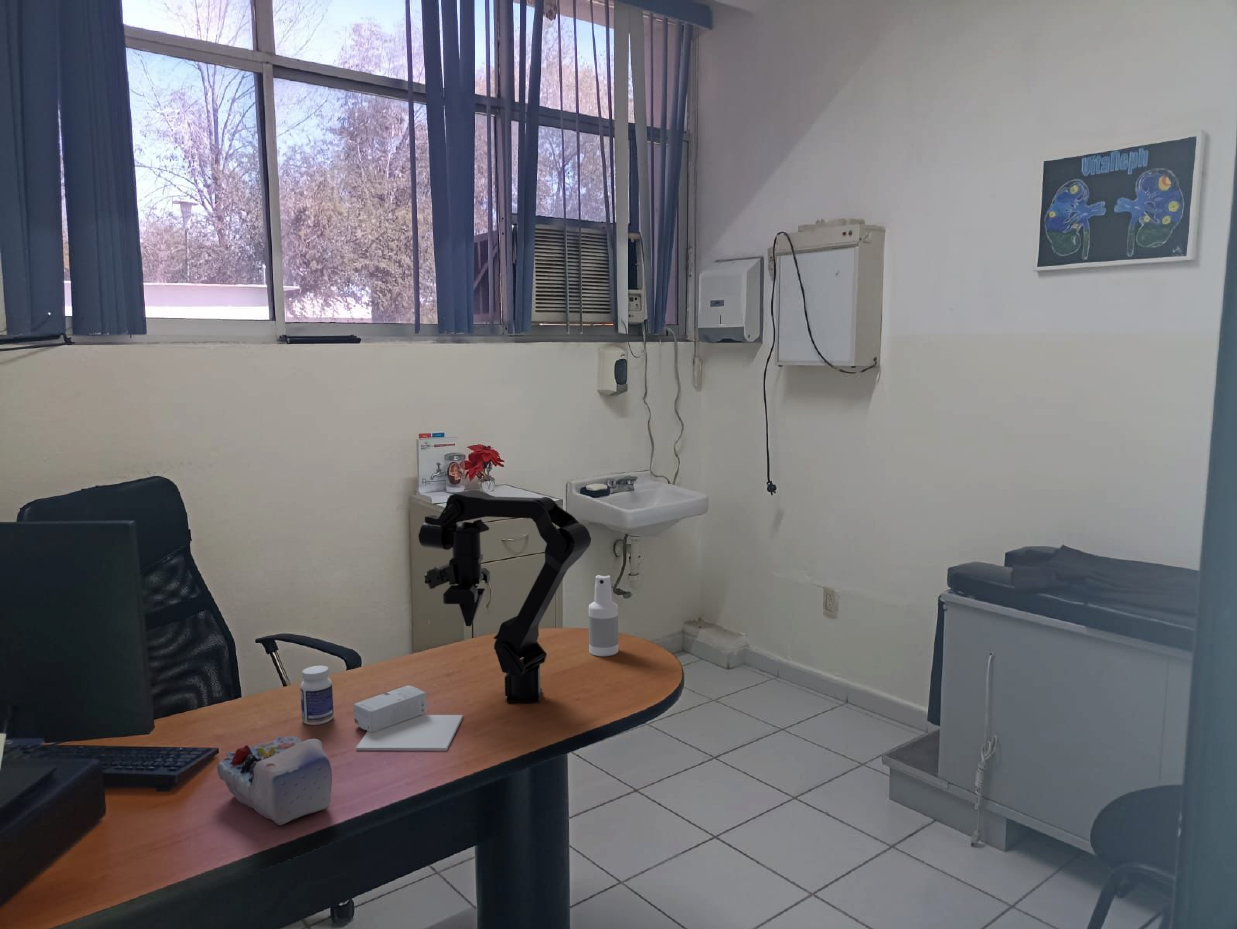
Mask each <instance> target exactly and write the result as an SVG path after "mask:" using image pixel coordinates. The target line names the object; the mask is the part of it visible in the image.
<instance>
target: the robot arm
mask: <svg viewBox="0 0 1237 929" xmlns="http://www.w3.org/2000/svg"><path fill="white" fill-rule="evenodd" d="M486 517H488V518H490V517H491V518H507V519H508V518H511V519H512V518H513V519H514V518H515V519H531V520H532V521H533V522H534V524H535V526H536V528H537V529H536V530H537V531H538V534H539V536H540V537H541V539H543V541H544V542H545V543H546V545H545V548H544V564H543V566H542V567H541V570H540V571H539V573H538V575H537V577H536V578H535V581H534V582H533V585H532V587H531V589H530V590H529V593H528V594H527V596H526V599H525V600H524V602H523V604H522V606H521V608H520V610H519V611H518V614H517V615H515V616H513V617H512V618H509V619H507V620H505V621H504V622H501V624H500V626H499V629H498V632H497V634H496V635H495V636H494V637H493V639H494V640H495V641H494V644H493V650H494V651H495V655H496V656H497V661H498V662H499V665H500V669H501V672H502V673H504V696H505V697H506V699H505V701H506V702H505V703H522V704H523V703H524V704H525V703H539V701H540V699H541V695H542V691H543V689H542V688H541V664H544V663H545V662H546V658H547V655H548V653H547V652H546V651H545V649H544V648H543V647H542V646H541V644H540V643H539V642H538V639H539V636H540V634H539V632H540V631H539V626H540V623H541V621H542V619H543V617H544V615H545V613H546V611H547V609H548V607H549V606H550V604H551V601H552V600H553V598H554V597H555V594H556V592H557V590H558V588H559V587H560V586H561V583H562V581H563V580H564V577H565V576H566V573H567V572H568V570H569V569H570V568H571V567H572V566H573V565H574V564H575V563H576V562H577V561H578V560H579V559H580V558H581V557H582V556H583V555H584V553H585V552H586V551H587V550H588V548H589V547H590V545H591V541H592V537H591V534H590V531H589V529H588V528H587V527H586V526H585V525H584V524H582V523H580V522H579V520H577V519H576V517H575V516H573V515H572V514H571V513H569V512H568V511H566V510H564V509H563V508H562V507H560V506H559V505H558V504H557V503H556V501H555V500H554V499H552V498H550V497H548V496H543V497H542V496H541V497H524V496H523V497H520V496H518V497H517V496H495V495H491V494H489V493H487V492H485V491H480V490H478V489H477V490H476V489H470V490H466V491H462V492H456V493H452V494H450V495H449V497H447V500H446V505H445V507H444V508H443V510H442V512H441V513H440V515H439V516H437V515H435V514H434V515H433V514H432V515H430V514H429V515H427V516H425V517H424V523H423V524H422V525H421V526H420V528H419V532H418V533H417V534H418V542H419V544H420V545H421V546H422V547H423V548H426V549H429V548H430V549H437V550H444V551H445V550H446V551H449V550H451V549H452V558H450V559H449V561H448V563H445V564H443V565H439V566H435V567H433V568H430V569H428V570H427V571H426V572H425V574H424V584H426V585H427V586H428V587H429V589H430V590H433V589H435V588H436V587H439V586H441V585H443V584H447V583H448V584H449V585H450V586H449V587H448V588H447V589H446V590H445V592H443V595H442V599H443V600H442V602H443V604H444V605H459V606H458V607H459V609H460V610H461V611H460V612H461V614H462V618H463V621H464V624H465V626H466V627H471V626H472V625H473V623H474V620H475V618H476V614H477V612H478V609H479V607H480V604H481V602H482V598H483V596H484V593H485V591H486V588H481V587H480V588H479V584H480V583H482V581H484V584H489V583H490V581H491V575H490V574H491V572H490V571H489V570H488V569H487V568H486V567H482V561H483V558H484V557H483V556H484V554H483V553H481V552H482V551H481V550H482V549H481V533H485V532H488V531H489V530H490V527H489V526H488V525H487V524H486V523H485V522H483V520H482V519H481V518H486ZM476 519H477V520H476ZM472 520H474V521H473V522H471V521H472ZM459 522H460V524H458V523H459ZM556 526H557V527H556ZM558 527H559V528H558Z"/></svg>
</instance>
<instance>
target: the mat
mask: <svg viewBox="0 0 1237 929" xmlns="http://www.w3.org/2000/svg"><path fill="white" fill-rule="evenodd" d="M463 717H464V715H463V714H422V715H419V716H416V717H414V718H411V719H408V720H406V721H403V722H400V723H397V724H394V725H392V726H389V727H386V728H384V729H381V730H378V731H376V732H373V733H371V732H369V731H366V733H365V734H364V736H362V739H361V740H360V741H359V742H358V744H357V745H356V747H355V751H390V752H391V751H399V752H400V751H404V752H405V751H407V752H408V751H410V752H411V751H416V752H417V751H421V752H422V751H423V752H424V751H426V752H427V751H429V752H430V751H432V752H433V751H435V752H436V751H437V752H438V751H439V752H440V751H441V752H442V751H445V752H446V751H448V748H449V747H450V744H451V742H452V741H453V738H454V736H455V734H456V732H457V731H458V728H459V725H460V724H461V722H462V720H463Z"/></svg>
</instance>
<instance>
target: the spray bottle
mask: <svg viewBox="0 0 1237 929" xmlns="http://www.w3.org/2000/svg"><path fill="white" fill-rule="evenodd" d="M588 645H589V646H588V650H589V651H588V652H589V653H590V654H591V655H593V656H596V657H610V656H614V655H616V654H617V653H618V652H619V606H618V604H617V603H616V602H614V601H613V594H612V583H611V576H610V575H608V574H607V575H601V574H598V575H596V576H595V584H594V601H593V602H591V603H589V605H588Z"/></svg>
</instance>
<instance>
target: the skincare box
mask: <svg viewBox="0 0 1237 929" xmlns="http://www.w3.org/2000/svg"><path fill="white" fill-rule="evenodd" d="M426 713H427V693H426V692H425V691H423V690H422V689H420V688H417V687H414V686H412V685H410V684H409V685H408V684H407V685H405V686H402V687H399V688H395V689H393V690H391V691H388V692H384V693H381V694H379V695H376V696H372V697H369V698H367V699H364V700H361V701H358V702H356V703H353V715H354V716H353V717H354V718H353V719H354V720H353V721H354V725H356V726H358V727H360V729H362V730H365V731H366V732H368V731H369V732H371V733H373V732H376V731H378V730H381V729H384V728H386V727H389V726H392V725H394V724H397V723H400V722H403V721H406V720H408V719H411V718H414V717H416V716H419V715H426Z"/></svg>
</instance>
